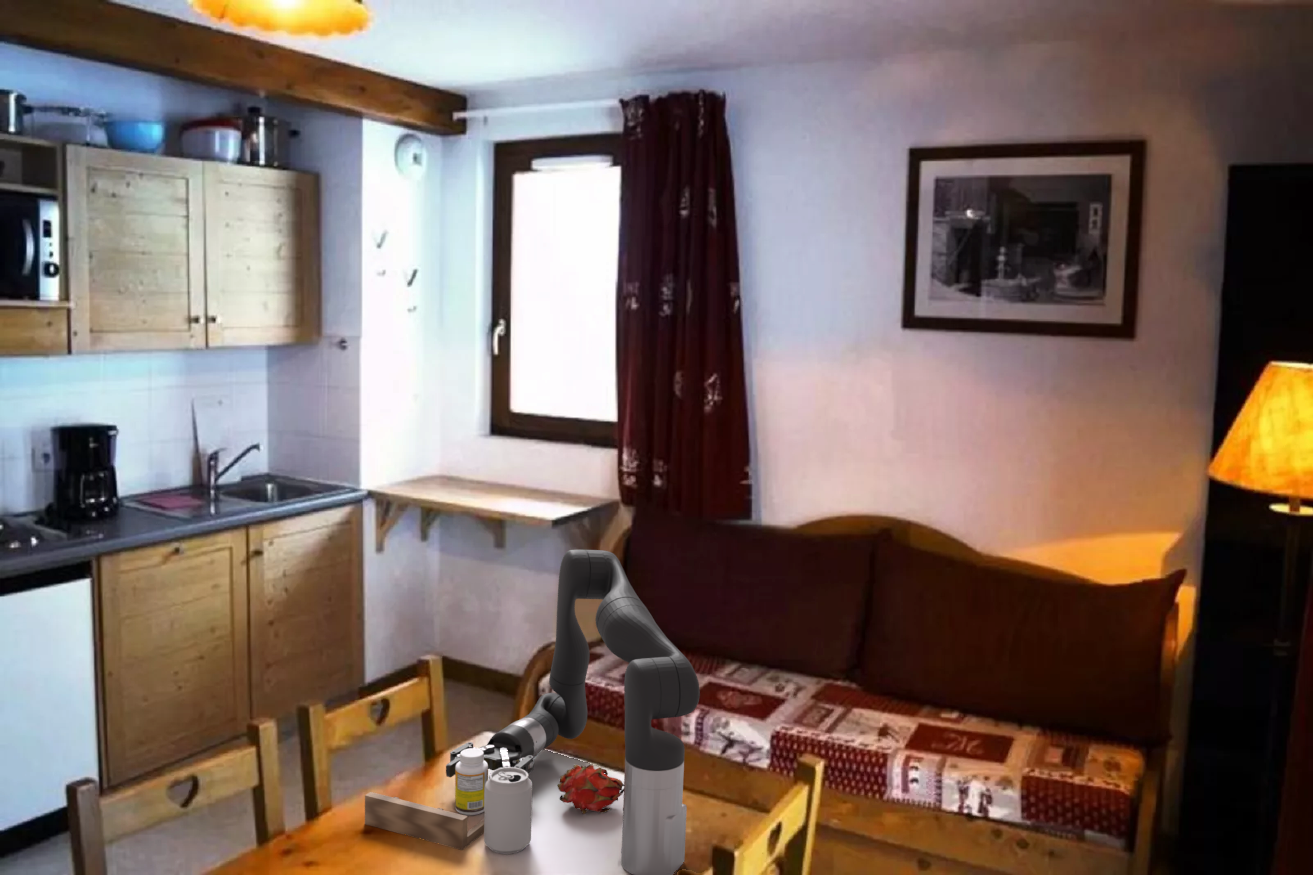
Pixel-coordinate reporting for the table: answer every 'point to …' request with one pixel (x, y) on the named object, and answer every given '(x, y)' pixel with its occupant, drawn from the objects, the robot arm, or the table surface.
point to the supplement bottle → (470, 782)
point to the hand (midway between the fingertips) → (469, 776)
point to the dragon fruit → (589, 788)
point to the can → (508, 810)
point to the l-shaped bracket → (420, 821)
